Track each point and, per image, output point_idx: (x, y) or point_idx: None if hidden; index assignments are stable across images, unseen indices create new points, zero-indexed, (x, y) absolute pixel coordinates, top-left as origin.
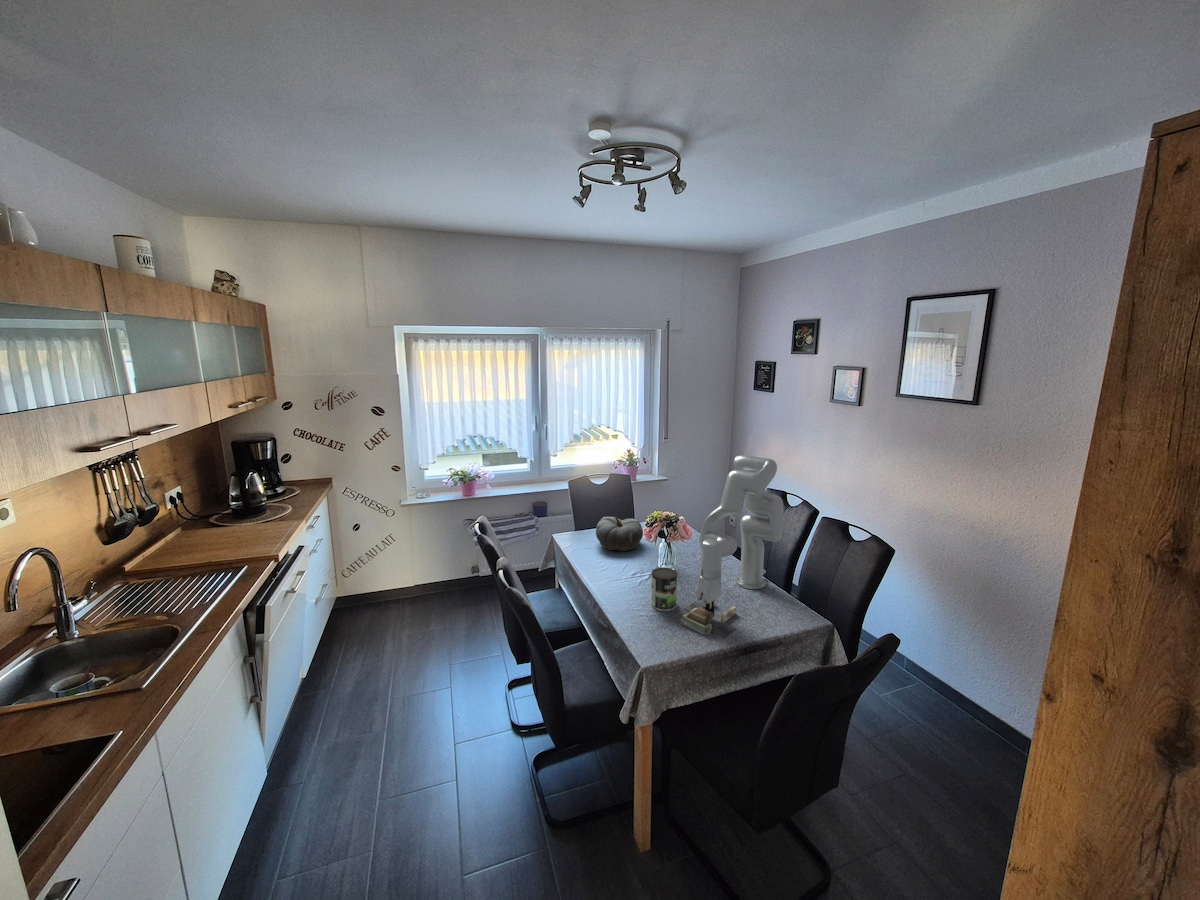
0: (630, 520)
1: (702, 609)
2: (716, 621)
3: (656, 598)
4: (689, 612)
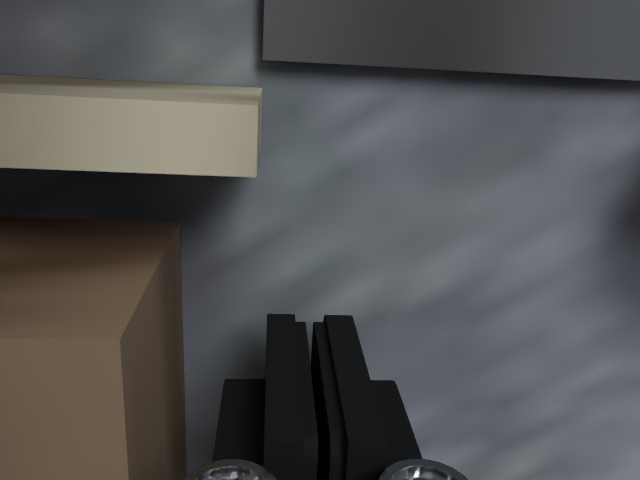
0: None
1: (64, 470)
2: None
3: None
4: None
